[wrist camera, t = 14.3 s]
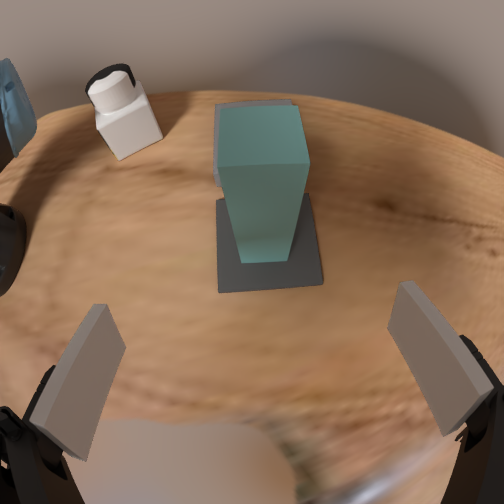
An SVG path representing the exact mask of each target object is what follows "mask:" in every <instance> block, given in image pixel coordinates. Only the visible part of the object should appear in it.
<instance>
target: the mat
mask: <svg viewBox="0 0 504 504" xmlns="http://www.w3.org/2000/svg"><path fill="white" fill-rule="evenodd" d="M216 227H217V271H218V292H219V293H228V292H243V291H257V290H270V289H282V288H294V287H305V286H315V285H322V284H323V279H322V272H321V265H320V258H319V251H318V245H317V239H316V233H315V227H314V221H313V215H312V209H311V204H310V199H309V193H304V194H303V198H302V203H301V207H300V211H299V215H298V220H297V224H296V228H295V232H294V236H293V240H292V244H291V248H290V252H289V256H288V260H287V261H279V262H259V263H241V259H240V255H239V252H238V248H237V244H236V240H235V236H234V232H233V228H232V224H231V220H230V217H229V213H228V209H227V205H226V201H225V199H221V200H216Z"/></svg>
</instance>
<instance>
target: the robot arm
mask: <svg viewBox="0 0 504 504" xmlns="http://www.w3.org/2000/svg"><path fill="white" fill-rule="evenodd" d="M36 129H37V121H36V117H35V114H34V111H33V108H32V105H31V103H30V101H29V98H28V96H27V93H26V91H25V88H24V86H23V84H22V82H21V79H20V77H19V75H18V73H17V71H16V69H15V67H14V65H13V64H12V63H11V61H10V59H8V58H6V59H4V60H2V61H0V173H1V172H2V171H3V169H4V168H5V167H6V166H7V165H8V164H9V163H10V162H11V160H12V159H13V158H14V157H15V158H17V157H18V155H19V152H20V151H21V150H22V149H23V148H24V147H25V146H26V145H27V143H28V142H29V141H30V140H31V139H32V138H33V137H34V135H35V133H36ZM25 241H26V224H25V220H24V217H23V215H22V214H21V213H20V212H19V211H17V210H16V209H15V208H13V207H12V206H10V205H6V204H1V203H0V296H2V295H3V294H4V293H5V292H6V291H7V290H8V288H9V287H10V285H11V284H12V282H13V280H14V278H15V276H16V274H17V272H18V269H19V266H20V263H21V260H22V257H23V252H24V248H25ZM387 329H388V330H389V332H390V334H391V336H392V337H393V339H394V341H395V343H396V344H397V346H398V348H399V350H400V351H401V353H402V355H403V357H404V359H405V360H406V362H407V364H408V366H409V368H410V370H411V372H412V373H413V375H414V377H415V379H416V381H417V383H418V385H419V387H420V389H421V391H422V393H423V395H424V397H425V399H426V401H427V403H428V405H429V407H430V409H431V411H432V413H433V416H434V418H435V420H436V422H437V424H438V426H439V429H440V431H441V433H442V435H443V437H444V436H446V435H448V434H450V433H452V432H454V431H456V430H458V429H459V428H460V426H461V425H462V424H463V423H464V422H466V424H467V427H466V428H465V429H464V430H463V431H462V432H461V433H460V434H459V435H458V436H457V437H456V439H455V441H458V440H459V439H460V438H461V437H462V436H463V437H462V439H461V440H460V442H461V445H460V449H459V453H458V456H457V459H456V463H455V466H454V469H453V472H452V475H451V478H450V481H449V484H448V486H447V489H446V491H445V494H444V496H443V499H442V501H441V504H504V386H503V385H502V383H501V382H500V381H499V379H498V378H497V376H496V375H495V373H494V372H493V370H492V369H491V367H490V366H489V364H488V363H487V361H486V360H485V359H483V356H482V354H481V353H480V352H478V349H477V348H476V346H475V345H474V344H473V342H472V341H471V340H469V339H468V338H467V337H465V336H464V335H460V336H458V335H457V333H456V332H455V331H454V329H453V328H452V327H451V325H450V324H449V323H448V322H447V320H446V319H445V318H444V317H443V315H442V314H441V313H440V312H439V310H438V309H437V308H436V307H435V305H434V304H433V303H432V302H431V301H430V300H429V298H428V297H427V296H426V295H425V294H424V292H423V291H422V290H421V289H420V288H419V287H418V286H417V284H416V283H415V282H414V281H413V280H411V281H405V282H400V283H399V287H398V291H397V295H396V299H395V303H394V306H393V310H392V314H391V317H390V321H389V324H388V327H387ZM125 349H126V346H125V344H124V342H123V340H122V337H121V335H120V333H119V331H118V329H117V327H116V324H115V322H114V320H113V317H112V315H111V313H110V310H109V308H108V305H107V304H93V306H92V307H91V309H90V310H89V312H88V314H87V315H86V317H85V318H84V320H83V321H82V323H81V324H80V326H79V328H78V329H77V331H76V333H75V334H74V336H73V337H72V339H71V341H70V342H69V344H68V346H67V348H66V349H65V351H64V353H63V355H62V356H61V358H60V360H59V362H58V363H57V365H53V366H52V367H51V368H50V369H49V370H48V371H47V372H46V373H45V374H44V376H43V378H42V380H41V382H40V383H41V384H39V386H38V388H37V392H35V393H34V395H33V397H32V399H31V401H30V404H29V406H28V408H27V410H26V412H25V414H24V416H23V418H22V420H21V419H20V418H19V417H18V416H17V415H16V414H15V413H14V412H13V411H12V410H11V409H10V408H9V407H6V406H2V407H0V504H85V503H84V501H83V499H82V497H81V495H80V492H79V490H78V488H77V486H76V484H75V482H74V479H73V477H72V475H71V472H70V470H69V467H68V465H67V462H66V460H65V458H64V456H62V452H63V451H65V452H66V453H67V454H68V455H70V456H71V457H74V458H76V459H79V460H82V461H85V462H86V461H87V458H88V454H89V450H90V447H91V444H92V441H93V437H94V434H95V431H96V428H97V425H98V422H99V419H100V416H101V413H102V410H103V407H104V404H105V401H106V398H107V396H108V393H109V390H110V387H111V385H112V382H113V379H114V377H115V374H116V372H117V369H118V366H119V364H120V361H121V359H122V356H123V354H124V352H125ZM1 460H2V461H4V462H5V463H7V469H6V468H4V467H3V466H1Z"/></svg>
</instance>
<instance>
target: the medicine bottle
mask: <svg viewBox="0 0 504 504" xmlns="http://www.w3.org/2000/svg"><path fill="white" fill-rule="evenodd" d="M85 92H86V94H87V96H88V97H89V99H90V101H91V102H92V104H93V106H94V107H95V117H96V127H97V130H98V132H99V133H100V135H101V136H102V138H103V140H104V141H105V143H106V144H107V146H108V147H109V148H110V150H111V151H112V153H113V154H114V156H115V157H116V159H117V160H118V161H120V160H122V159H124V158H126V157H128V156H130V155H132V154H133V153H135V152H137V151H139V150H141V149H143V148H145V147H147V146H149V145H151V144H153V143H155V142H157V141H159V140H161V139H163V135H162V132H161V130H160V128H159V125H158V123H157V120H156V118H155V116H154V113H153V111H152V108H151V106H150V104H149V101H148V99H147V96H146V94H145V91H144V89H143V87H142V84H141V82H140V80H137V81H135V79H134V77H133V74H132V72H131V70H130V67H129V66H128V65H126V64H116V65H111V66H109V67H107V68H104V69H103V70H101V71H99V72H98V73H97V74H95V75H94V76H93V77H92V78H91V79H90V81H89V82H88V83H87V85H86V89H85Z"/></svg>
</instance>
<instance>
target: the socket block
mask: <svg viewBox="0 0 504 504" xmlns="http://www.w3.org/2000/svg"><path fill="white" fill-rule="evenodd" d="M284 105H292V102H291V99H280V100H257V101H243V102H232V103H222V104H215V121H214V161H213V175H214V179H215V182H216V186H217V187H222V185H221V181H220V177H219V173H218V169H217V159H218V138H219V120H220V109H224V108H236V107H251V106H284Z"/></svg>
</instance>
